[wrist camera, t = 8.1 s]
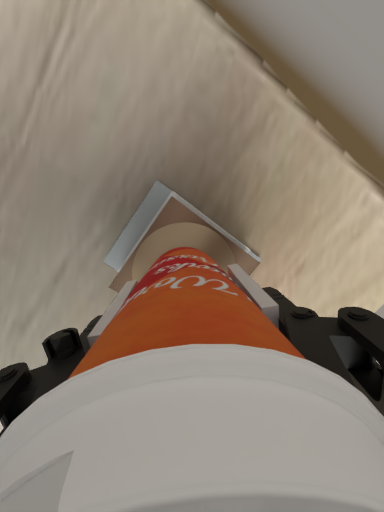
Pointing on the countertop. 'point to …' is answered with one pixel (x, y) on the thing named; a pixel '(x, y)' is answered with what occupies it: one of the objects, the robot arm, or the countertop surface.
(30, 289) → the countertop surface
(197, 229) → the pedestal
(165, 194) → the build plate
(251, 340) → the coffee cup
